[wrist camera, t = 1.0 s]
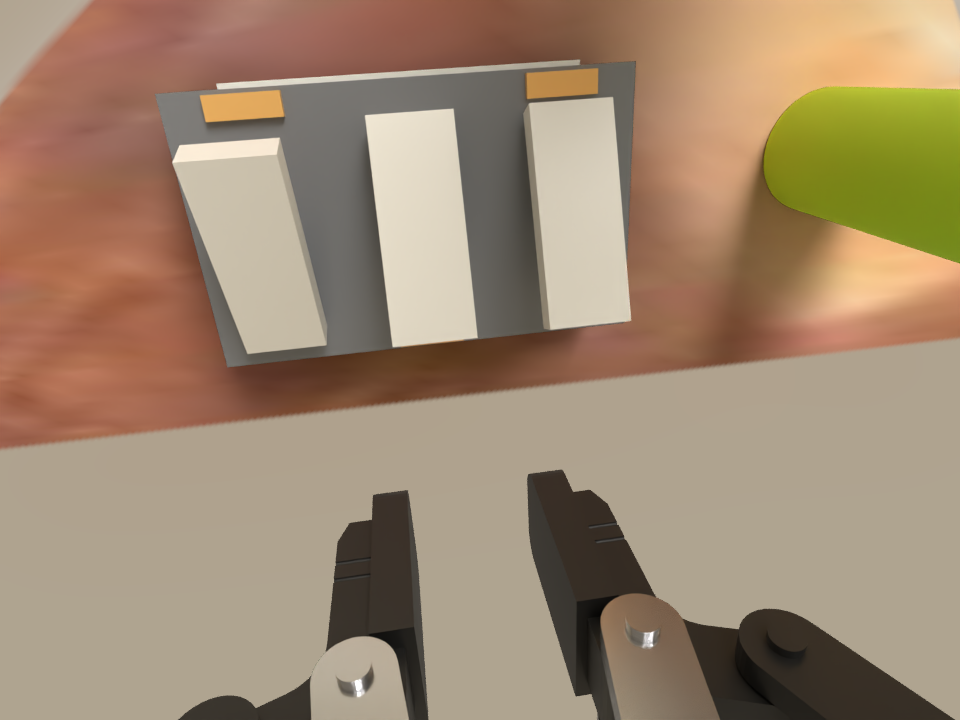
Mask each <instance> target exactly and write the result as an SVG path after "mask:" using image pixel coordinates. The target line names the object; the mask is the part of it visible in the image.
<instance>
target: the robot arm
mask: <svg viewBox="0 0 960 720" xmlns="http://www.w3.org/2000/svg"><path fill="white" fill-rule="evenodd" d="M527 480H528V481H527V485H528V515H529V536H530V543H531V549H532V554H533V558H534V562H535V565H536V568H537V572H538V575H539V578H540V582H541V585H542V588H543V591H544V594H545V598H546V601H547V604H548V608H549V611H550V614H551V617H552V621H553V624H554V627H555V631H556V634H557V637H558V640H559V643H560V647H561V650H562V653H563V657H564V660H565V663H566V666H567V670H568V673H569V676H570V679H571V683H572V686H573V689H574V693H575V695H576V696H581V695H587V694H592V697H593V700H594V703H595V706H596V709H597V720H955V719H953V718H952V717H950V716H949V715H947V714H946V713H944V712H943V711H941V710H940V709H938V708H937V707H935V706H934V705H932V704H931V703H929V702H928V701H926V700H925V699H923V698H922V697H921V696H919V695H918V694H916V693H915V692H913V691H912V690H910V689H909V688H907V687H906V686H904V685H903V684H901V683H900V682H898V681H897V680H895V679H894V678H892V677H891V676H889V675H888V674H887V673H885V672H883V671H882V670H881V669H879V668H878V667H876V666H875V665H873V664H871V663H870V662H869V661H867V660H866V659H864V658H863V657H861V656H860V655H858V654H857V653H855V652H854V651H852V650H851V649H850V648H848V647H847V646H845V645H844V644H842V643H841V642H839V641H838V640H836V639H835V638H833V637H832V636H830V635H829V634H827V633H826V632H824V631H823V630H821V629H820V628H818V627H817V626H816V625H814V624H813V623H811V622H809V621H808V620H806V619H804V618H803V617H800V616H798V615H796V614H794V613H791V612H788V611H783V610H779V609H762V610H757V611H754V612H752V613H750V614H749V615H747V616H746V617H745V618H744V619H743V620H742V622H741V624H740V627H739V629H731V628H722V627H715V626H706V625H701V624H696V623H693V622H689V621H687V620H685V619H682V618H681V616H680V615H679V613H678V612H677V611H676V610H675V609H674V608H673V607H671V606H670V605H669V604H668V603H666V602H664V601H663V600H661V599H659V598H656V596H655V594H654V593H653V591H652V589H651V587H650V585H649V583H648V581H647V579H646V578H645V575H644V573H643V571H642V570H641V568H640V566H639V564H638V562H637V560H636V558H635V556H634V554H633V552H632V550H631V548H630V546H629V544H628V543H627V541H626V540H625V539H624V535H623V533H622V531H621V529H620V527H619V525H617V521H616V519H615V517H614V515H613V514H612V512H611V510H610V508H609V506H608V504H607V503H606V502H605V501H603V500H602V499H601V498H600V497H598V496H597V495H596V494H595V493H593V492H592V491H591V490H585V491H579V492H573V491H572V489H571V487H570V484H569V482H568V480H567V478H566V476H565V474H564V472H563V470H555V471H547V472H540V473H533V474H528V478H527ZM179 720H428V707H427V693H426V677H425V662H424V647H423V631H422V616H421V603H420V586H419V573H418V561H417V553H416V544H415V537H414V530H413V523H412V516H411V508H410V501H409V494H408V491H407V490H405V491H398V492H391V493H383V494H376V495H373V508H372V520H369V521H361V522H354V523H350V524H349V525H348V527H347V528H346V530H345V532H344V533H343V535H342V536H341V538H340V539H339V541H338V545H337V554H336V566H335V573H334V583H333V593H332V603H331V612H330V622H329V632H328V642H327V648H326V652H325V654H324V655H323V656H322V657H321V658H320V659H319V661H318V662H317V664H316V665H315V667H314V669H313V672H312V675H311V677H310V678H309V679H308V680H307V681H305V682H304V683H303V684H302V685H301V686H299V687H298V688H297V689H295V690H293V691H291V692H289V693H287V694H286V695H283V696H281V697H279V698H277V699H275V700H273V701H270V702H268V703H266V704H264V705H262V706H260V707H258V708H255V707H254V706H253V705H252V703H250V702H249V701H248V700H246V699H244V698H241V697H238V696H220V697H216V698H212V699H209V700H207V701H205V702H202V703H200V704H199V705H197V706H195V707H193V708H192V709H191V710H189V711H188V712H187V713H185V714H184V715H183V716H182V717H181V718H180V719H179Z"/></svg>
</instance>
